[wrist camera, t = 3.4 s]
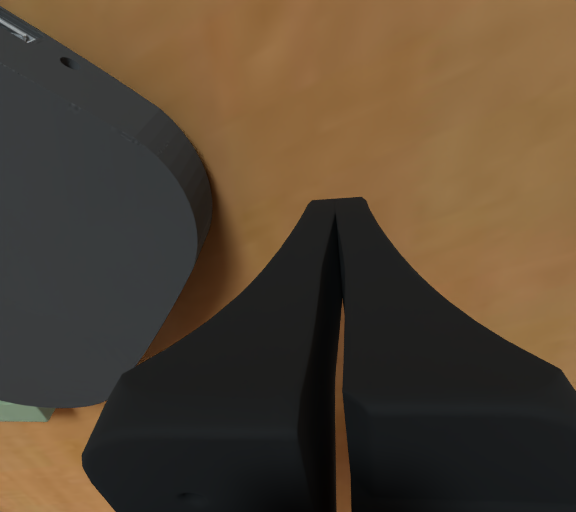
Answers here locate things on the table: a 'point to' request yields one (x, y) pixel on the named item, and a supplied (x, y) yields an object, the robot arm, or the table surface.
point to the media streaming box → (86, 222)
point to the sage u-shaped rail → (24, 413)
